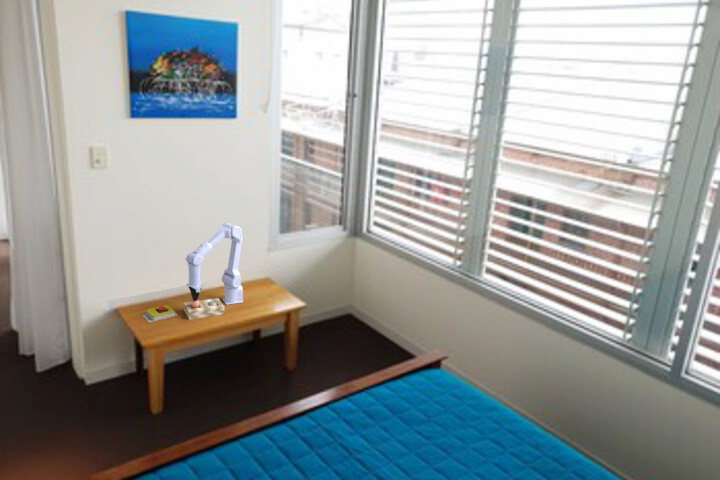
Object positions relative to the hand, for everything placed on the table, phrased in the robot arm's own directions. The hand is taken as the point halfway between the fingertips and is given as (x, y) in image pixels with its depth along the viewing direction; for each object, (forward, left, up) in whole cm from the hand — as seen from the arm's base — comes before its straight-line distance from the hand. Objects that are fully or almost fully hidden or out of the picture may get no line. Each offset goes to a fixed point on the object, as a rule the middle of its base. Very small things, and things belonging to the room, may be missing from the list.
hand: (195, 300), depth 290 cm
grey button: (-9, 0, -7) cm, 11 cm away
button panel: (-5, 0, -7) cm, 9 cm away
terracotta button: (0, 0, -4) cm, 4 cm away
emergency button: (+17, -4, -8) cm, 19 cm away
